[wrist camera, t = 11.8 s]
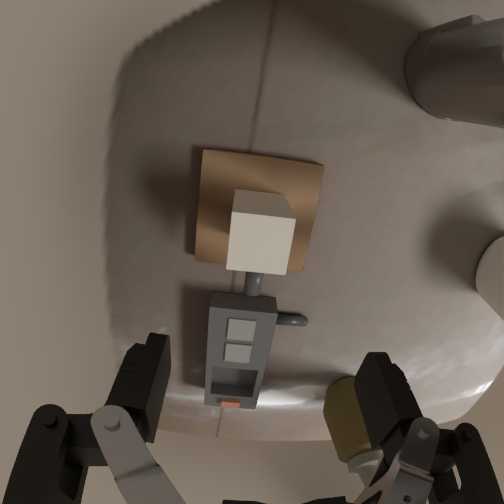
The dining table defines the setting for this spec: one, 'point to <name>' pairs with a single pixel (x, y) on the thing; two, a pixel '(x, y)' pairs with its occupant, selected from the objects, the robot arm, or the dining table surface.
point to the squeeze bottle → (349, 429)
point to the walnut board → (254, 179)
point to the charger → (259, 236)
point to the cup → (492, 276)
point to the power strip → (240, 347)
